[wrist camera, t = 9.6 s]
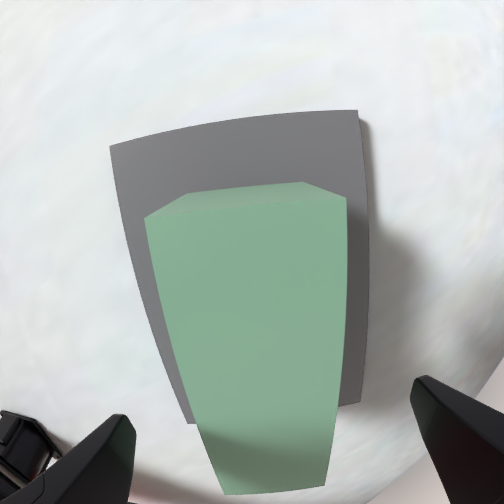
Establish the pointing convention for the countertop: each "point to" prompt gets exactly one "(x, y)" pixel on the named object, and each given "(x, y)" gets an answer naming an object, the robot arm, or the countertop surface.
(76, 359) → the countertop surface
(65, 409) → the countertop surface
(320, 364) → the block
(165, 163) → the chassis plate
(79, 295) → the countertop surface
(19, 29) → the countertop surface
